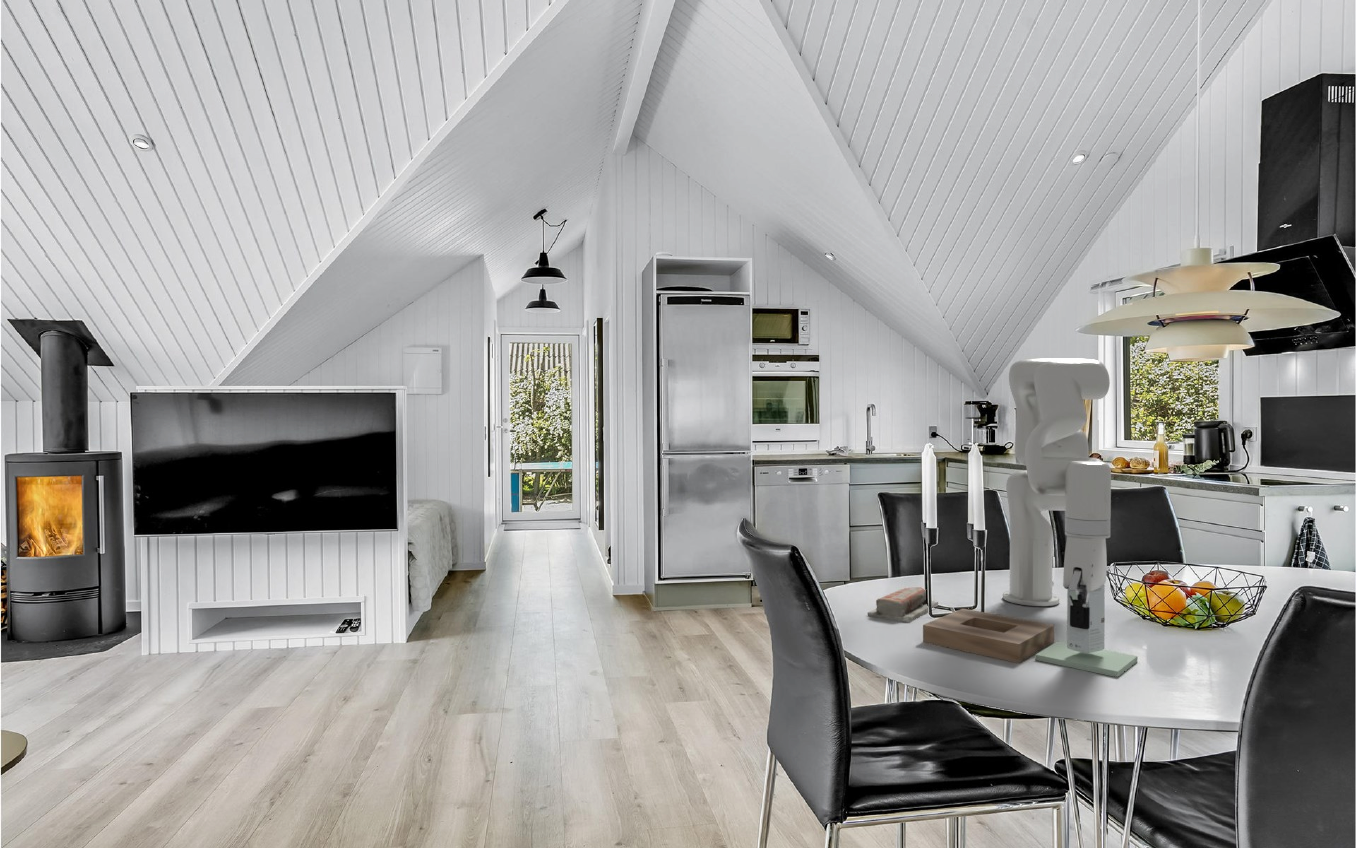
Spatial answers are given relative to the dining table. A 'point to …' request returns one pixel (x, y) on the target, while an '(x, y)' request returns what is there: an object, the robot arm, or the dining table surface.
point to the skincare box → (1094, 635)
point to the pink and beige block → (902, 605)
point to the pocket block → (989, 634)
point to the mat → (1087, 659)
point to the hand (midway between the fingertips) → (1086, 623)
